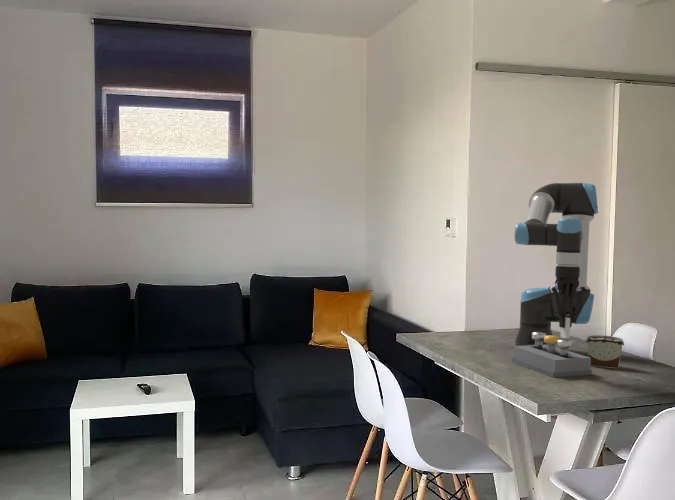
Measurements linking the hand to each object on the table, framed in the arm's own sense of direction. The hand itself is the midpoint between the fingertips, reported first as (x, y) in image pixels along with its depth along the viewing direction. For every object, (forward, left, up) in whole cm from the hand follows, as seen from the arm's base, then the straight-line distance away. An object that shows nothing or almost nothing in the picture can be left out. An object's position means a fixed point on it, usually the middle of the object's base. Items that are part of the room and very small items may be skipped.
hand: (564, 337), depth 224 cm
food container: (-21, -6, -12) cm, 25 cm away
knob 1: (0, -14, -6) cm, 16 cm away
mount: (0, -7, -12) cm, 14 cm away
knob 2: (0, 0, -6) cm, 6 cm away
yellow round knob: (0, -7, -6) cm, 10 cm away
